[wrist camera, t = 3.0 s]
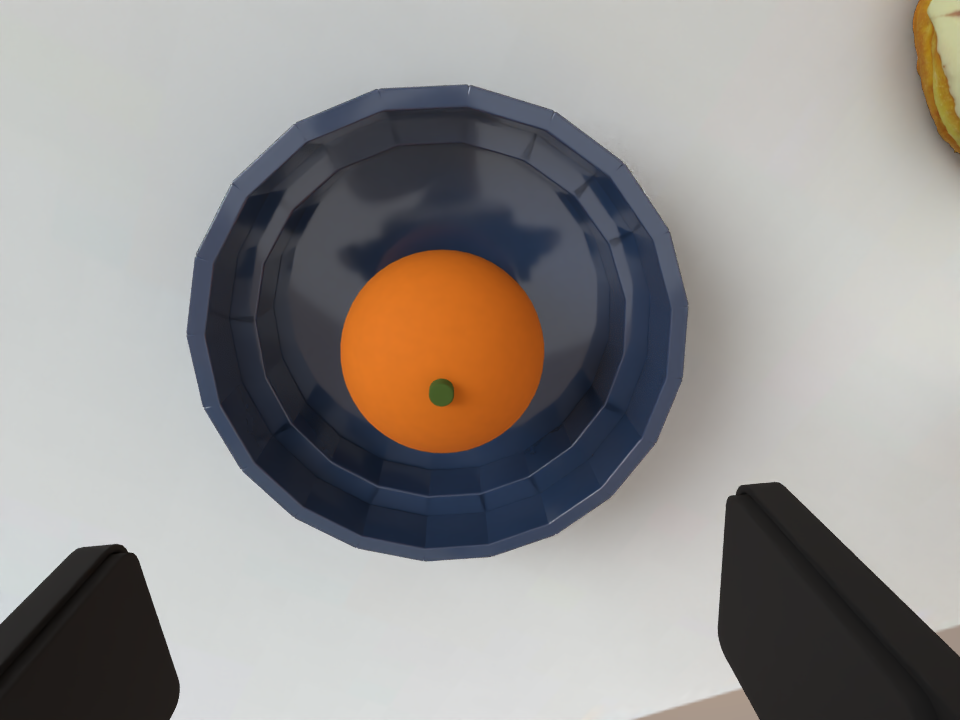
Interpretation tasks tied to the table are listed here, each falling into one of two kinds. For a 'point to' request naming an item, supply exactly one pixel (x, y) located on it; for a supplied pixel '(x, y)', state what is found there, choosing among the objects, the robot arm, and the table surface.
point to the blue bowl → (416, 228)
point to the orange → (442, 351)
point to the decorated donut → (940, 63)
